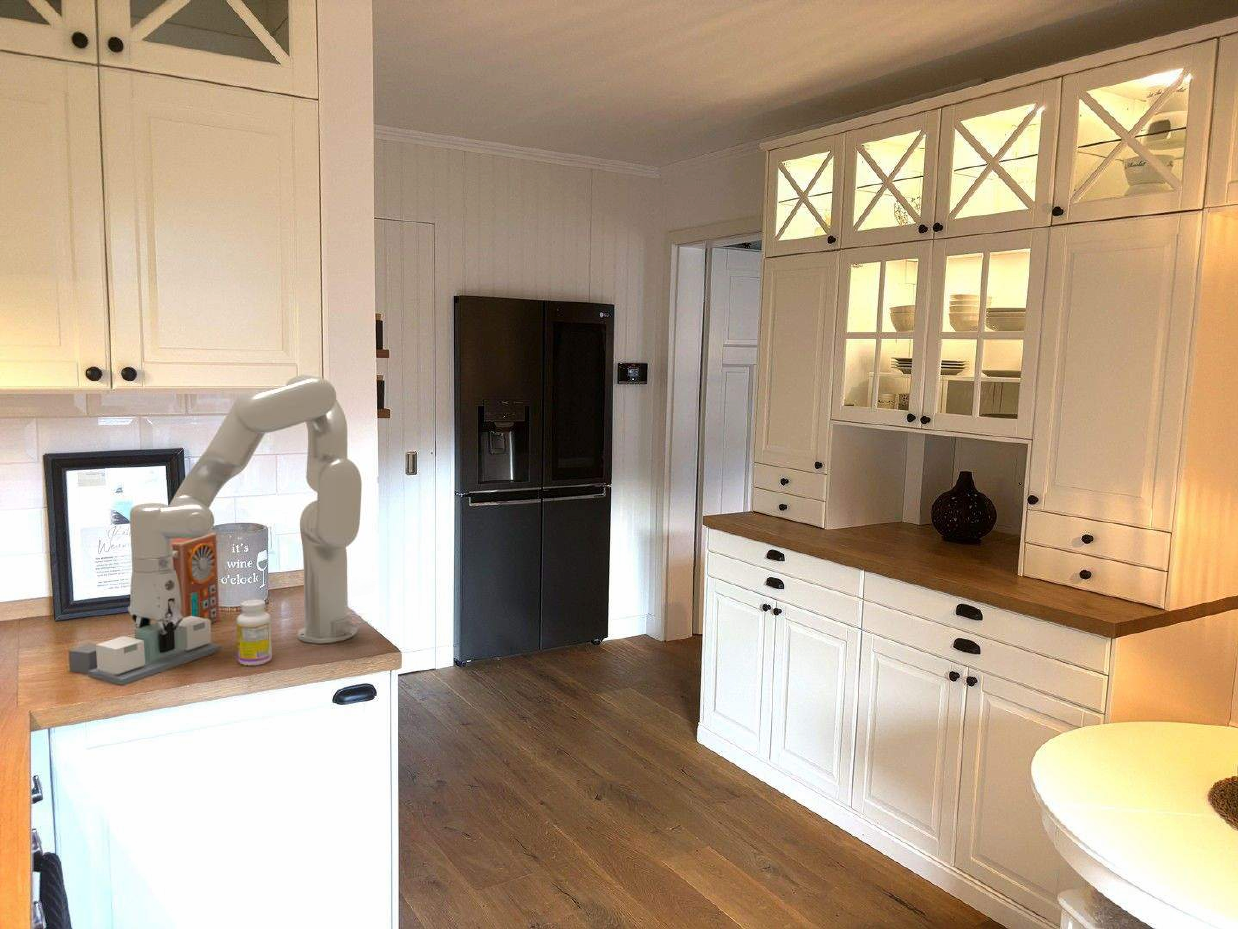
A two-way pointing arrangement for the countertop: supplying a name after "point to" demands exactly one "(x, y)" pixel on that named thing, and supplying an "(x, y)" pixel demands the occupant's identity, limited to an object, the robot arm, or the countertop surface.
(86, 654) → the block
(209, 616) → the control panel
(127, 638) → the mounted modules
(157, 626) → the module
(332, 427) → the robot arm
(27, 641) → the countertop surface
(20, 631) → the countertop surface
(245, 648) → the supplement bottle
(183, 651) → the rail
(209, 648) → the board
